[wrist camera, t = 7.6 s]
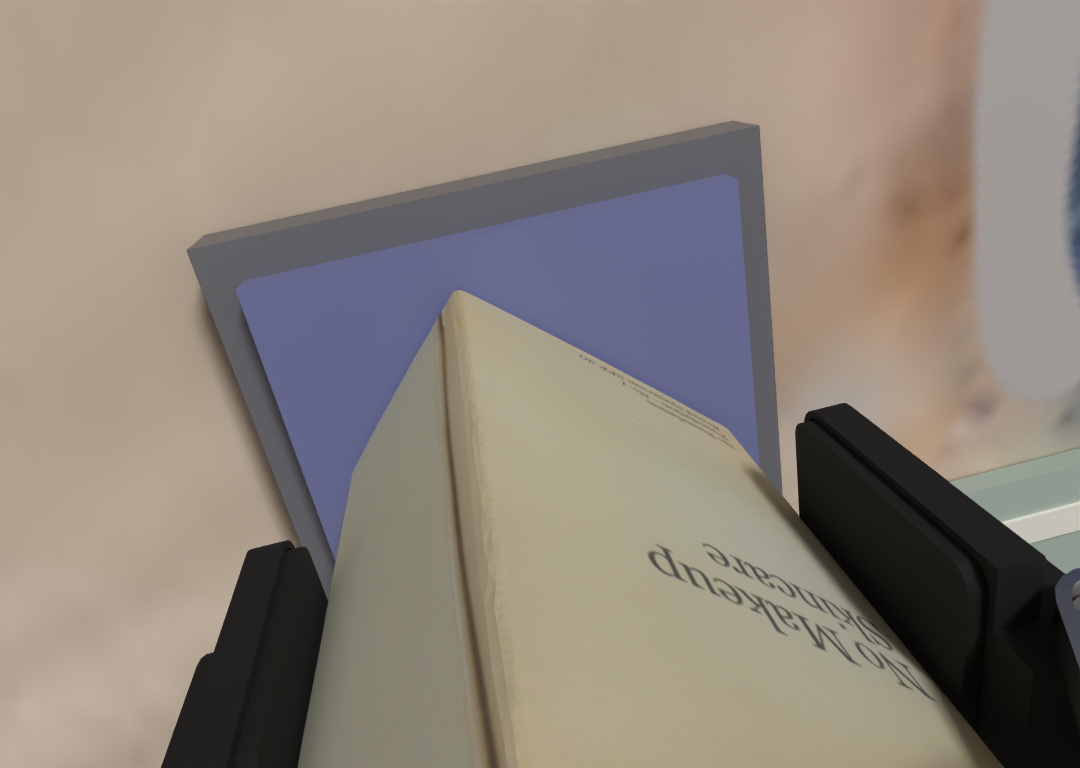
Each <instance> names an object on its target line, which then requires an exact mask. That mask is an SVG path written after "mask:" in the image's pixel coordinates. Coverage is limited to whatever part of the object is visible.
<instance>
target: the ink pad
mask: <svg viewBox="0 0 1080 768" xmlns="http://www.w3.org/2000/svg"><path fill="white" fill-rule="evenodd" d="M187 253H188V256H189V258H190V261H191V263H192V266H193V269H194V271H195V274H196V276H197V279H198V281H199V284H200V287H201V289H202V292H203V294H204V297H205V299H206V302H207V305H208V307H209V310H210V312H211V315H212V318H213V320H214V323H215V325H216V328H217V330H218V333H219V336H220V338H221V341H222V343H223V346H224V348H225V351H226V354H227V356H228V359H229V361H230V364H231V367H232V369H233V372H234V374H235V377H236V379H237V382H238V385H239V387H240V390H241V392H242V395H243V397H244V400H245V403H246V405H247V408H248V410H249V413H250V416H251V418H252V421H253V423H254V426H255V428H256V431H257V434H258V436H259V439H260V441H261V444H262V446H263V449H264V452H265V454H266V457H267V459H268V462H269V464H270V467H271V470H272V472H273V475H274V477H275V480H276V483H277V485H278V488H279V490H280V493H281V495H282V498H283V501H284V503H285V506H286V508H287V511H288V513H289V516H290V519H291V521H292V524H293V526H294V529H295V532H296V534H297V537H298V539H299V542H300V544H301V547H303V546H304V547H306V548H307V549H308V551H309V553H310V555H311V557H312V560H313V563H314V565H315V568H316V570H317V573H318V576H319V578H320V581H321V584H322V586H323V589H324V591H325V594H326V597H327V599H328V601H329V595H330V589H331V584H332V578H333V572H334V567H335V562H336V557H337V551H338V546H339V541H340V536H341V530H342V525H343V520H344V515H345V510H346V505H347V499H348V494H349V489H350V483H351V478H352V472H353V470H354V468H355V466H356V464H357V462H358V460H359V458H360V457H361V455H362V453H363V451H364V449H365V447H366V445H367V443H368V441H369V439H370V438H371V436H372V434H373V432H374V430H375V428H376V426H377V424H378V423H379V421H380V419H381V417H382V415H383V414H384V412H385V410H386V408H387V406H388V405H389V403H390V401H391V399H392V397H393V396H394V394H395V392H396V390H397V388H398V386H399V385H400V383H401V381H402V379H403V377H404V376H405V374H406V372H407V370H408V368H409V367H410V365H411V363H412V361H413V359H414V358H415V356H416V354H417V352H418V351H419V349H420V347H421V346H422V344H423V342H424V341H425V339H426V337H427V336H428V334H429V332H430V331H431V329H432V327H433V325H434V324H435V322H436V320H437V318H438V317H439V315H440V313H441V312H442V310H443V308H444V306H445V305H446V303H447V301H448V299H449V297H450V296H451V294H452V293H453V292H454V291H456V290H462V291H465V292H467V293H469V294H471V295H473V296H475V297H477V298H479V299H481V300H483V301H485V302H487V303H490V304H492V305H494V306H496V307H498V308H500V309H502V310H503V311H505V312H507V313H509V314H511V315H513V316H515V317H517V318H519V319H521V320H523V321H525V322H527V323H529V324H531V325H533V326H535V327H537V328H539V329H541V330H543V331H545V332H547V333H549V334H551V335H553V336H555V337H556V338H558V339H560V340H562V341H564V342H566V343H568V344H570V345H572V346H574V347H576V348H578V349H580V350H582V351H584V352H586V353H588V354H590V355H592V356H594V357H595V358H597V359H599V360H601V361H603V362H605V363H607V364H609V365H611V366H612V367H614V368H616V369H618V370H620V371H622V372H624V373H626V374H628V375H629V376H631V377H633V378H635V379H637V380H639V381H641V382H643V383H645V384H647V385H648V386H650V387H652V388H654V389H656V390H658V391H660V392H662V393H663V394H665V395H667V396H669V397H671V398H673V399H675V400H676V401H678V402H680V403H682V404H684V405H685V406H687V407H689V408H691V409H693V410H694V411H696V412H698V413H700V414H702V415H704V416H705V417H707V418H709V419H711V420H713V421H715V422H717V423H719V424H721V425H723V426H724V427H726V428H727V429H728V430H729V431H730V432H731V433H732V434H733V436H734V437H735V438H736V439H737V441H738V442H739V443H740V444H741V446H742V447H743V448H744V449H745V451H746V452H747V453H748V454H749V456H750V457H751V458H752V459H753V460H754V462H755V463H756V464H757V465H758V466H759V468H760V469H761V470H762V471H763V472H764V474H765V475H766V476H767V478H768V479H769V480H770V481H771V482H772V484H773V485H774V486H775V487H776V489H777V490H778V491H779V492H780V493H781V495H782V480H781V464H780V448H779V432H778V416H777V400H776V384H775V368H774V352H773V336H772V320H771V304H770V288H769V272H768V256H767V240H766V224H765V208H764V192H763V176H762V160H761V144H760V128H759V125H754V124H748V123H742V122H737V121H730V122H725V123H720V124H716V125H711V126H707V127H702V128H697V129H693V130H688V131H683V132H679V133H674V134H670V135H665V136H660V137H656V138H651V139H647V140H642V141H637V142H633V143H628V144H624V145H619V146H614V147H610V148H605V149H600V150H596V151H591V152H587V153H582V154H577V155H573V156H568V157H564V158H559V159H554V160H550V161H545V162H541V163H536V164H531V165H527V166H522V167H517V168H513V169H508V170H504V171H499V172H494V173H490V174H485V175H481V176H476V177H471V178H467V179H462V180H458V181H453V182H448V183H444V184H439V185H434V186H430V187H425V188H421V189H416V190H411V191H407V192H402V193H398V194H393V195H388V196H384V197H379V198H374V199H370V200H365V201H361V202H356V203H351V204H347V205H342V206H338V207H333V208H328V209H324V210H319V211H315V212H310V213H305V214H301V215H296V216H291V217H287V218H282V219H278V220H273V221H268V222H264V223H259V224H255V225H250V226H245V227H241V228H236V229H232V230H227V231H222V232H218V233H213V234H208V235H204V236H203V237H202V238H201V239H199V240H198V241H197V242H196V243H194V244H193V245H192V246H191V247H190V248H188V249H187Z"/></svg>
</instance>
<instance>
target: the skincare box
mask: <svg viewBox="0 0 1080 768" xmlns="http://www.w3.org/2000/svg"><path fill="white" fill-rule="evenodd" d="M298 768H1004V767H1003V766H1002V765H1001V763H1000V762H999V761H998V760H997V758H996V757H995V756H994V755H993V753H992V752H991V751H990V750H989V748H988V747H987V746H986V745H985V743H984V742H983V741H982V740H981V738H980V737H979V736H978V735H977V733H976V732H975V731H974V730H973V728H972V727H971V726H970V725H969V724H968V722H967V721H966V720H965V719H964V717H963V716H962V715H961V714H960V712H959V711H958V710H957V709H956V708H955V706H954V705H953V704H952V703H951V701H950V700H949V699H948V698H947V696H946V695H945V694H944V693H943V692H942V690H941V689H940V688H939V687H938V686H937V684H936V683H935V682H934V681H933V680H932V678H931V677H930V676H929V675H928V674H927V672H926V671H925V670H924V669H923V667H922V666H921V665H920V664H919V663H918V661H917V660H916V659H915V658H914V656H913V655H912V654H911V653H910V651H909V650H908V649H907V648H906V647H905V645H904V644H903V643H902V642H901V640H900V639H899V638H898V637H897V636H896V634H895V633H894V632H893V631H892V629H891V628H890V627H889V626H888V625H887V623H886V622H885V621H884V620H883V618H882V617H881V616H880V615H879V614H878V612H877V611H876V610H875V609H874V607H873V606H872V605H871V604H870V603H869V601H868V600H867V599H866V598H865V596H864V595H863V594H862V593H861V592H860V590H859V589H858V588H857V587H856V585H855V584H854V583H853V582H852V581H851V579H850V578H849V577H848V576H847V574H846V573H845V572H844V571H843V570H842V568H841V567H840V566H839V565H838V563H837V562H836V561H835V560H834V558H833V557H832V556H831V555H830V553H829V552H828V551H827V550H826V549H825V547H824V546H823V545H822V544H821V542H820V541H819V540H818V539H817V538H816V536H815V535H814V534H813V533H812V532H811V530H810V529H809V528H808V527H807V525H806V524H805V523H804V522H803V521H802V519H801V518H800V517H799V515H798V514H797V513H796V512H795V510H794V509H793V508H792V507H791V506H790V504H789V503H788V502H787V501H786V500H785V498H784V497H783V496H782V495H781V493H780V492H779V491H778V490H777V489H776V487H775V486H774V485H773V484H772V482H771V481H770V480H769V479H768V478H767V476H766V475H765V474H764V472H763V471H762V470H761V469H760V468H759V466H758V465H757V464H756V463H755V462H754V460H753V459H752V458H751V457H750V456H749V454H748V453H747V452H746V451H745V449H744V448H743V447H742V446H741V444H740V443H739V442H738V441H737V439H736V438H735V437H734V436H733V434H732V433H731V432H730V431H729V430H728V429H727V428H726V427H724V426H723V425H721V424H719V423H717V422H715V421H713V420H711V419H709V418H707V417H705V416H704V415H702V414H700V413H698V412H696V411H694V410H693V409H691V408H689V407H687V406H685V405H684V404H682V403H680V402H678V401H676V400H675V399H673V398H671V397H669V396H667V395H665V394H663V393H662V392H660V391H658V390H656V389H654V388H652V387H650V386H648V385H647V384H645V383H643V382H641V381H639V380H637V379H635V378H633V377H631V376H629V375H628V374H626V373H624V372H622V371H620V370H618V369H616V368H614V367H612V366H611V365H609V364H607V363H605V362H603V361H601V360H599V359H597V358H595V357H594V356H592V355H590V354H588V353H586V352H584V351H582V350H580V349H578V348H576V347H574V346H572V345H570V344H568V343H566V342H564V341H562V340H560V339H558V338H556V337H555V336H553V335H551V334H549V333H547V332H545V331H543V330H541V329H539V328H537V327H535V326H533V325H531V324H529V323H527V322H525V321H523V320H521V319H519V318H517V317H515V316H513V315H511V314H509V313H507V312H505V311H503V310H502V309H500V308H498V307H496V306H494V305H492V304H490V303H487V302H485V301H483V300H481V299H479V298H477V297H475V296H473V295H471V294H469V293H467V292H465V291H462V290H456V291H454V292H453V293H452V294H451V296H450V297H449V299H448V301H447V303H446V305H445V306H444V308H443V310H442V312H441V313H440V315H439V317H438V318H437V320H436V322H435V324H434V325H433V327H432V329H431V331H430V332H429V334H428V336H427V337H426V339H425V341H424V342H423V344H422V346H421V347H420V349H419V351H418V352H417V354H416V356H415V358H414V359H413V361H412V363H411V365H410V367H409V368H408V370H407V372H406V374H405V376H404V377H403V379H402V381H401V383H400V385H399V386H398V388H397V390H396V392H395V394H394V396H393V397H392V399H391V401H390V403H389V405H388V406H387V408H386V410H385V412H384V414H383V415H382V417H381V419H380V421H379V423H378V424H377V426H376V428H375V430H374V432H373V434H372V436H371V438H370V439H369V441H368V443H367V445H366V447H365V449H364V451H363V453H362V455H361V457H360V458H359V460H358V462H357V464H356V466H355V468H354V470H353V472H352V478H351V483H350V489H349V494H348V499H347V505H346V510H345V515H344V520H343V525H342V530H341V536H340V541H339V546H338V551H337V557H336V562H335V567H334V572H333V578H332V584H331V589H330V595H329V601H328V606H327V611H326V616H325V622H324V629H323V635H322V640H321V645H320V650H319V656H318V661H317V666H316V671H315V676H314V682H313V687H312V692H311V697H310V702H309V708H308V713H307V718H306V723H305V729H304V734H303V740H302V746H301V751H300V757H299V762H298Z"/></svg>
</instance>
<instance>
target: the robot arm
mask: <svg viewBox="0 0 1080 768" xmlns="http://www.w3.org/2000/svg"><path fill="white" fill-rule="evenodd" d="M795 437H796V457H797V476H798V496H799V515H800V518H801V519H802V521H803V522H804V523H805V524H806V525H807V527H808V528H809V529H810V530H811V532H812V533H813V534H814V535H815V536H816V538H817V539H818V540H819V541H820V542H821V544H822V545H823V546H824V547H825V549H826V550H827V551H828V552H829V553H830V555H831V556H832V557H833V558H834V560H835V561H836V562H837V563H838V565H839V566H840V567H841V568H842V570H843V571H844V572H845V573H846V574H847V576H848V577H849V578H850V579H851V581H852V582H853V583H854V584H855V585H856V587H857V588H858V589H859V590H860V592H861V593H862V594H863V595H864V596H865V598H866V599H867V600H868V601H869V603H870V604H871V605H872V606H873V607H874V609H875V610H876V611H877V612H878V614H879V615H880V616H881V617H882V618H883V620H884V621H885V622H886V623H887V625H888V626H889V627H890V628H891V629H892V631H893V632H894V633H895V634H896V636H897V637H898V638H899V639H900V640H901V642H902V643H903V644H904V645H905V647H906V648H907V649H908V650H909V651H910V653H911V654H912V655H913V656H914V658H915V659H916V660H917V661H918V663H919V664H920V665H921V666H922V667H923V669H924V670H925V671H926V672H927V674H928V675H929V676H930V677H931V678H932V680H933V681H934V682H935V683H936V684H937V686H938V687H939V688H940V689H941V690H942V692H943V693H944V694H945V695H946V696H947V698H948V699H949V700H950V701H951V703H952V704H953V705H954V706H955V708H956V709H957V710H958V711H959V712H960V714H961V715H962V716H963V717H964V719H965V720H966V721H967V722H968V724H969V725H970V726H971V727H972V728H973V730H974V731H975V732H976V733H977V735H978V736H979V737H980V738H981V740H982V741H983V742H984V743H985V745H986V746H987V747H988V748H989V750H990V751H991V752H992V753H993V755H994V756H995V757H996V758H997V760H998V761H999V762H1000V763H1001V765H1002V766H1003V767H1004V768H1080V568H1076V569H1073V570H1072V571H1070V572H1068V573H1067V574H1065V573H1063V572H1062V571H1061V570H1060V569H1058V568H1057V567H1056V566H1054V565H1053V564H1052V563H1051V562H1049V561H1048V560H1047V559H1046V556H1044V555H1043V554H1042V553H1041V552H1039V551H1038V550H1037V549H1035V548H1034V547H1033V546H1032V545H1030V544H1029V543H1028V542H1026V541H1025V540H1024V539H1022V538H1021V537H1020V536H1019V535H1017V534H1016V533H1015V532H1013V531H1012V530H1011V529H1010V528H1008V527H1007V526H1006V525H1004V524H1003V523H1002V522H1000V521H999V520H998V519H997V518H995V517H994V516H993V515H991V514H990V513H989V512H987V511H986V510H985V509H984V508H982V507H981V506H980V505H978V504H977V503H976V502H975V501H973V500H972V499H971V498H969V497H968V496H967V495H965V494H964V493H963V492H962V491H960V490H959V489H958V488H956V487H955V486H954V485H952V484H951V483H950V482H949V481H947V480H946V479H945V478H943V477H942V476H941V475H940V474H938V473H937V472H936V471H934V470H933V469H932V468H930V467H929V466H928V465H927V464H925V463H924V462H923V461H921V460H920V459H919V458H918V457H916V456H915V455H914V454H912V453H911V452H910V451H908V450H907V449H906V448H905V447H903V446H902V445H901V444H899V443H898V442H897V441H895V440H894V439H893V438H892V437H890V436H889V435H888V434H886V433H885V432H884V431H883V430H881V429H880V428H879V427H877V426H876V425H875V424H873V423H872V422H871V421H870V420H868V419H867V418H866V417H864V416H863V415H862V414H860V413H859V412H858V411H857V410H855V409H854V408H853V407H851V406H850V405H848V404H846V403H841V404H837V405H833V406H829V407H825V408H821V409H817V410H813V411H809V412H808V413H807V414H806V416H805V419H804V423H800V424H798V425H797V426H796V431H795ZM327 606H328V599H327V597H326V594H325V591H324V589H323V586H322V584H321V581H320V578H319V576H318V573H317V570H316V568H315V565H314V563H313V560H312V557H311V555H310V553H309V551H308V549H307V548H306V547H304V546H303V547H299V548H295V547H294V545H293V544H292V542H291V541H289V540H287V541H282V542H278V543H274V544H270V545H266V546H262V547H258V548H254V549H251V550H249V551H248V552H247V554H246V557H245V560H244V563H243V566H242V569H241V572H240V575H239V578H238V581H237V584H236V587H235V590H234V593H233V596H232V599H231V602H230V605H229V608H228V611H227V614H226V617H225V620H224V623H223V626H222V629H221V632H220V635H219V638H218V641H217V644H216V647H215V650H214V653H210V654H206V655H205V656H204V657H202V658H201V659H200V661H199V663H198V665H197V667H196V670H195V673H194V676H193V678H192V681H191V684H190V687H189V690H188V693H187V695H186V698H185V701H184V704H183V707H182V709H181V712H180V715H179V718H178V721H177V724H176V726H175V729H174V732H173V735H172V738H171V741H170V743H169V746H168V749H167V752H166V755H165V758H164V760H163V763H162V766H161V768H298V762H299V757H300V751H301V746H302V740H303V734H304V729H305V723H306V718H307V713H308V708H309V702H310V697H311V692H312V687H313V682H314V676H315V671H316V666H317V661H318V656H319V650H320V645H321V640H322V635H323V629H324V622H325V616H326V611H327Z"/></svg>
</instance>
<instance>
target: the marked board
mask: <svg viewBox="0 0 1080 768" xmlns="http://www.w3.org/2000/svg"><path fill="white" fill-rule="evenodd" d="M950 483H951V484H952V485H954V486H955V487H956V488H958V489H959V490H960V491H962V492H963V493H964V494H965V495H967V496H968V497H969V498H971V499H972V500H973V501H975V502H976V503H977V504H978V505H980V506H981V507H982V508H984V509H985V510H986V511H987V512H989V513H990V514H991V515H993V516H994V517H995V518H997V519H998V520H999V521H1000V522H1002V523H1003V524H1004V525H1006V526H1007V527H1008V528H1010V529H1011V530H1012V531H1013V532H1015V533H1016V534H1017V535H1019V536H1020V537H1021V538H1022V539H1024V540H1025V541H1026V542H1028V543H1029V544H1030V545H1032V546H1033V547H1034V548H1035V549H1037V550H1038V551H1039V552H1041V553H1042V554H1043V555H1044V556H1046V559H1047V560H1048V561H1049V562H1051V563H1052V564H1053V565H1054V566H1056V567H1057V568H1058V569H1060V570H1061V571H1062V572H1063V573H1065V574H1067V573H1068V572H1070V571H1072V570H1073V569H1076V568H1080V448H1079V449H1075V450H1071V451H1067V452H1063V453H1059V454H1056V455H1052V456H1048V457H1044V458H1040V459H1036V460H1032V461H1028V462H1024V463H1021V464H1017V465H1013V466H1009V467H1005V468H1001V469H997V470H993V471H989V472H986V473H982V474H978V475H974V476H970V477H966V478H962V479H958V480H954V481H951V482H950Z"/></svg>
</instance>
